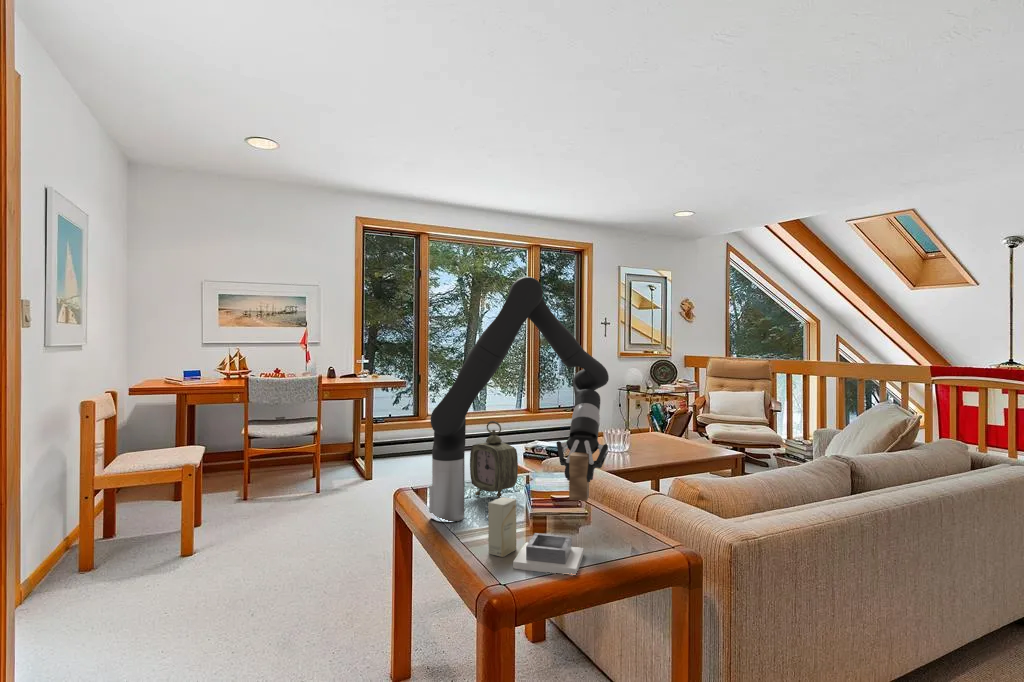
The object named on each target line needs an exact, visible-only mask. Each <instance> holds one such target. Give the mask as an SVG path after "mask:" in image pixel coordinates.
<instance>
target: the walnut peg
mask: <svg viewBox="0 0 1024 682" xmlns="http://www.w3.org/2000/svg"><path fill="white" fill-rule="evenodd" d="M588 465H589V454H588V453H580V452H575V453H571V454H570V461H569V474H570V478H569V480H568V481H569V484H568V487H569V488H568V490H569V491H568V495H569V496H568V499H569V501H570V500H571V501H579V502H580V501H583V502H587V501H588V500H589V497H590V482H587V471H588Z"/></svg>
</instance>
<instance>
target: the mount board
mask: <svg viewBox="0 0 1024 682" xmlns="http://www.w3.org/2000/svg"><path fill="white" fill-rule="evenodd" d="M572 538H573V537H572V536H569V535H561V534H559V535H557V534H550V533H540V532H539V533H538V532H534V533H533V535H532V537H531V539H530V540H529V542H528V541H526V542H525V543H524V545H523V546H522V547H521V549H520V550H519V552H518V554H517V555H516V557H515V558H514V559H513V561H512V569H514V570H522V571H531V572H539V573H540V572H541V573H547V572H550V573H549V574H556V573H569V574H571V573H572V574H576V573H577V574H578V572H577V571H579V569H580V566H581V563H582V561H583V557H584V555H585V553H584V552H585V551H584V547H577V546H572V545H573V544H572V543H573V540H572ZM551 572H552V573H551Z"/></svg>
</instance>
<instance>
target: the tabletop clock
mask: <svg viewBox="0 0 1024 682" xmlns="http://www.w3.org/2000/svg"><path fill="white" fill-rule="evenodd" d="M490 424H495V425H496V426H498V427H499V431H497V432H496V430H495V429H492V431H491V430H490V429H489V425H490ZM486 430H487V432H488V433H489V434H490V435H489V436H488V437H487V438H486V440H485V442H482V443H481V442H480V443H475V444H472V446H471V448H470V453H469V454H470V455H469V474H470V481H471V484H472V485H473V486H474V487H476V488H477V489H479V490H477V491H475V493H474V494H475V496H476V495H481V492H482V491H484V492H485V491H486V492H490V493H495V492H497V493H496V497H497V496H498V497H497V499H498V498H501V497H502V491H503V490H506V489H507V490H508V489H511V488H514V487H515V485H516V483H517V481H518V476H519V475H518V473H519V472H518V471H519V470H518V469H519V460H518V452H517V448H515V447H514V446H513V445H510V444H508V443H505V442H502V439H501V437H500V435H499V434H501V431H502V426H501V425H500V423H499V422H497V421H495V420H490V421H488V423H487V425H486ZM500 496H501V497H500Z"/></svg>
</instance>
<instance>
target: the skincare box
mask: <svg viewBox="0 0 1024 682" xmlns="http://www.w3.org/2000/svg"><path fill="white" fill-rule="evenodd" d="M487 504H488V516H487V518H488V529H487V531H488V536H487V537H488V554H489V555H493V556H497V557H500V558H504V557H506V556H508V555H509V554H511V553H512V552H514V551H516V550H517V499H515V498H510V497H504V496H501V497H500V498H498V497H497V498H496V499H493V500H491V501H489V502H488V503H487Z"/></svg>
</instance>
